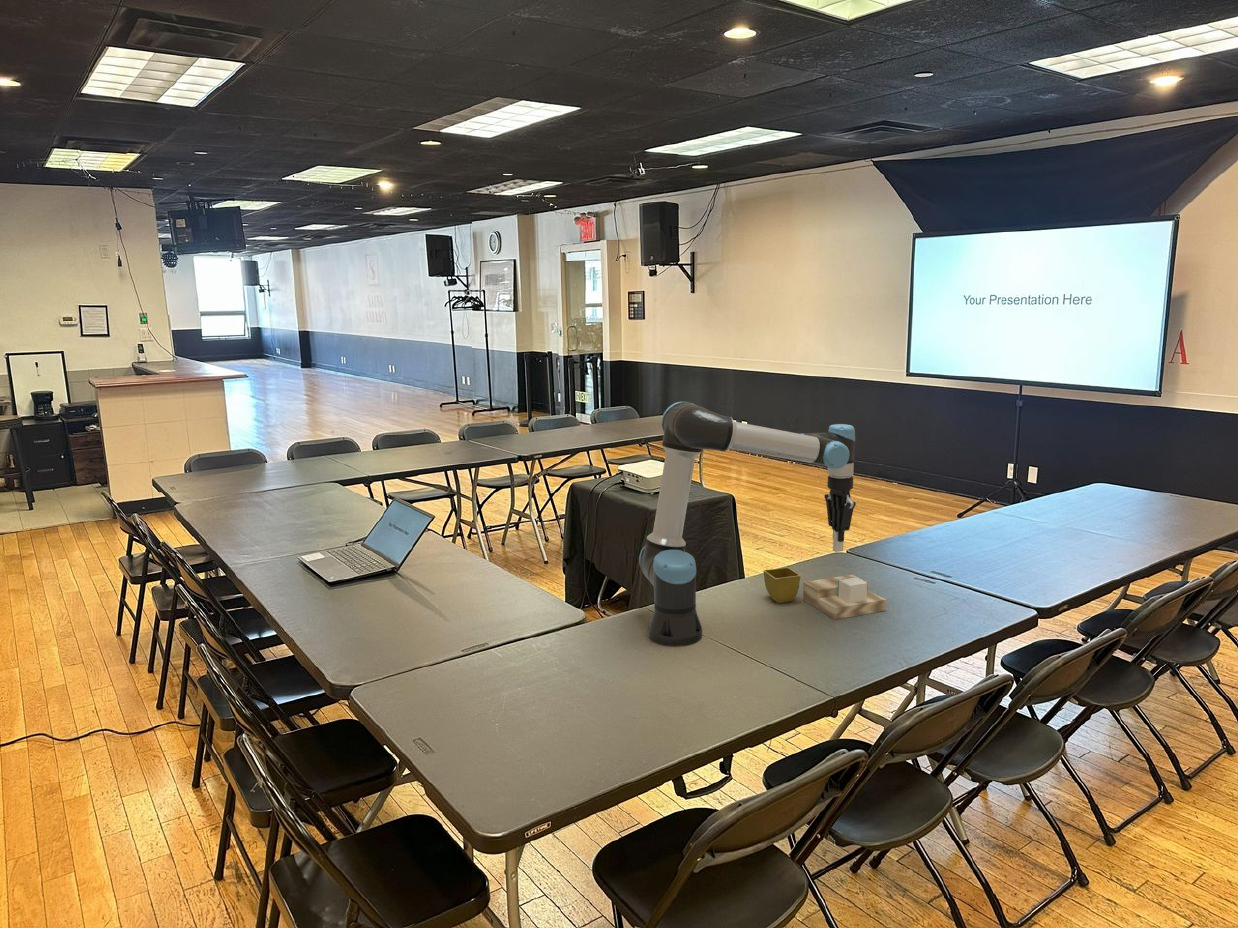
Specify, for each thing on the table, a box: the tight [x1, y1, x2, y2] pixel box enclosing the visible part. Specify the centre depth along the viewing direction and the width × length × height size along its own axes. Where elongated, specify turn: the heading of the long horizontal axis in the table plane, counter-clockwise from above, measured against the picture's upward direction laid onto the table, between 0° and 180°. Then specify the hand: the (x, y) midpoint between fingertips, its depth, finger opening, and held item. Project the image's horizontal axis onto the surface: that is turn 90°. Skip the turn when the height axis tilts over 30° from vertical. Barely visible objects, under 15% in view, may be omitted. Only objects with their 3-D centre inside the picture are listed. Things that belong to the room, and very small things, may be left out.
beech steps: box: [802, 574, 887, 620], centre depth 244 cm, size 18×17×6 cm
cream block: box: [838, 576, 867, 603], centre depth 240 cm, size 6×6×6 cm
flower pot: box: [762, 566, 801, 604], centre depth 250 cm, size 9×9×9 cm
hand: (838, 550), depth 245 cm, fingers closed
